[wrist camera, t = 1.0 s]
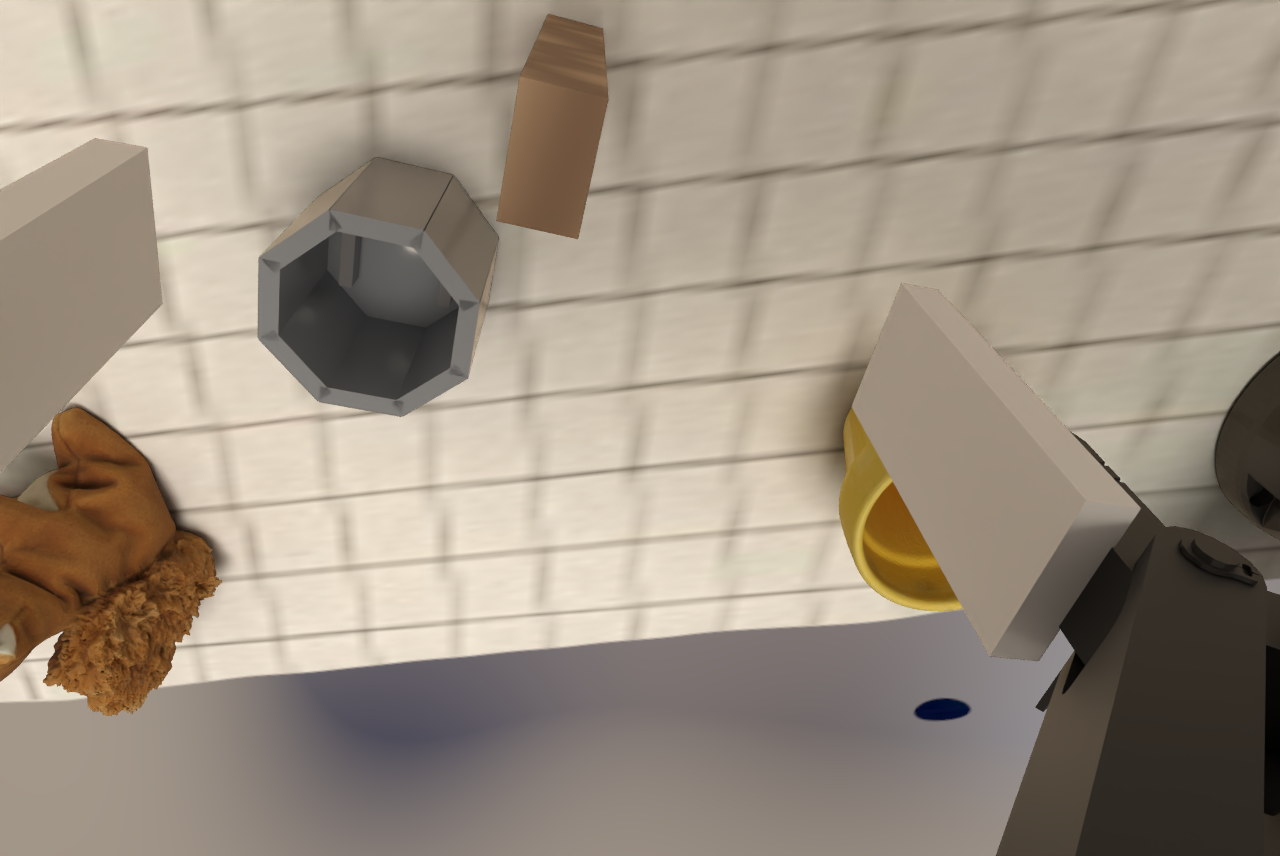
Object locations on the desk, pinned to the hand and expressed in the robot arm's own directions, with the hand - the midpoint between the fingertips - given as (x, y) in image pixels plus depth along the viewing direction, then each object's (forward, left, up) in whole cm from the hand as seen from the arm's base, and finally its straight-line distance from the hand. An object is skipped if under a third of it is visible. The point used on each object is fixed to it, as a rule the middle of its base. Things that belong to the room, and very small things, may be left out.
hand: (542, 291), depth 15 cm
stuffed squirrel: (+20, +30, -26) cm, 45 cm away
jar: (+6, +10, -26) cm, 28 cm away
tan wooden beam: (0, 0, -26) cm, 26 cm away
